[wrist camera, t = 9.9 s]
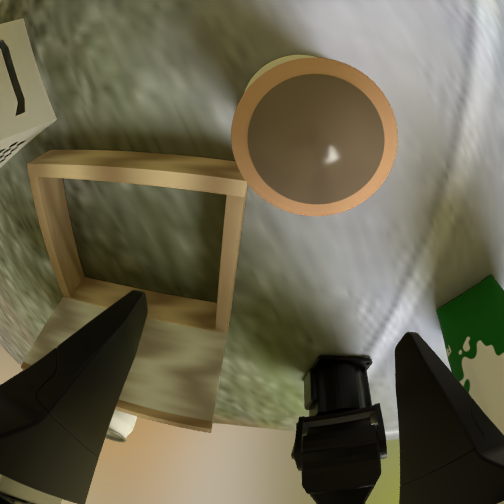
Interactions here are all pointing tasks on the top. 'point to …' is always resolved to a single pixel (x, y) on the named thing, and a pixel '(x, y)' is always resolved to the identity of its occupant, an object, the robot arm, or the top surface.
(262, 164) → the pot
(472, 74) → the top surface
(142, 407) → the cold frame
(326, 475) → the robot arm
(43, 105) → the grater
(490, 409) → the milk carton
